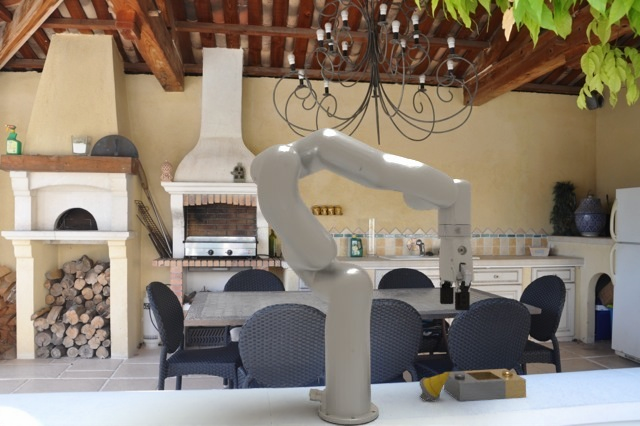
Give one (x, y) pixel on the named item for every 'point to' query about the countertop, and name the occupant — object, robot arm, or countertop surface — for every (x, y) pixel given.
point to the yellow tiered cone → (433, 386)
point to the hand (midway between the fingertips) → (454, 306)
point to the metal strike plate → (485, 385)
